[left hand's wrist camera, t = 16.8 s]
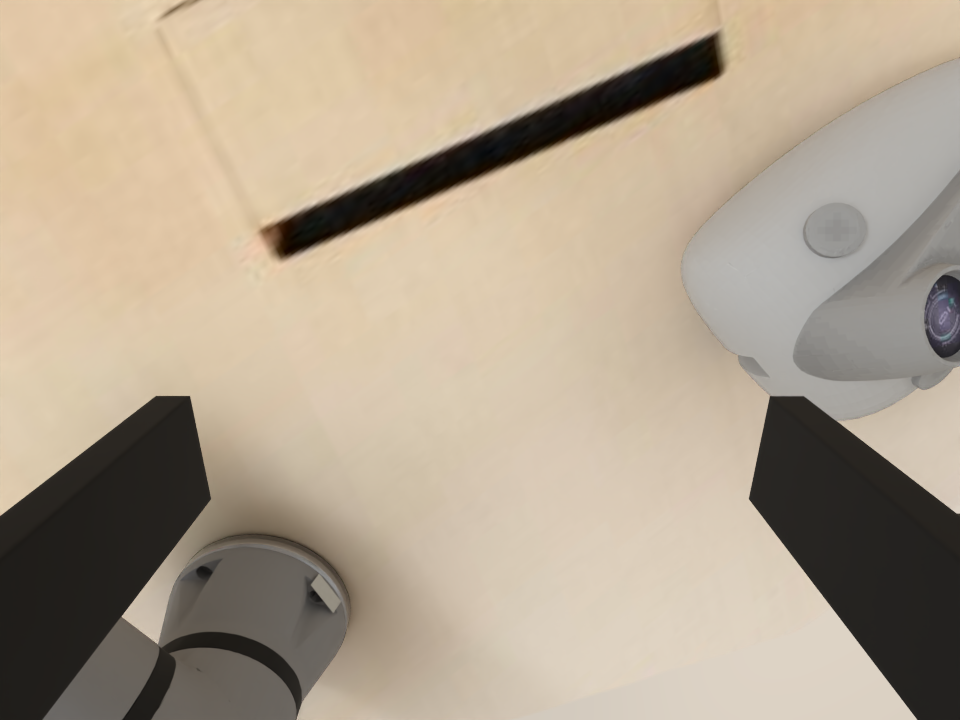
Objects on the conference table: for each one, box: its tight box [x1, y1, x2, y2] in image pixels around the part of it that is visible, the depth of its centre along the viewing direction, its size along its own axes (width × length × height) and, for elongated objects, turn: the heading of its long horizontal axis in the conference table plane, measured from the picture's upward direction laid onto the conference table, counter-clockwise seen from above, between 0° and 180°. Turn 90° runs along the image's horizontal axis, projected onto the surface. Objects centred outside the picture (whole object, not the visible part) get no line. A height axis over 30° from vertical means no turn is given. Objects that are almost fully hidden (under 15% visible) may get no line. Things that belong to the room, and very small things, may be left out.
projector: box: [681, 57, 960, 421], centre depth 32 cm, size 22×23×15 cm
